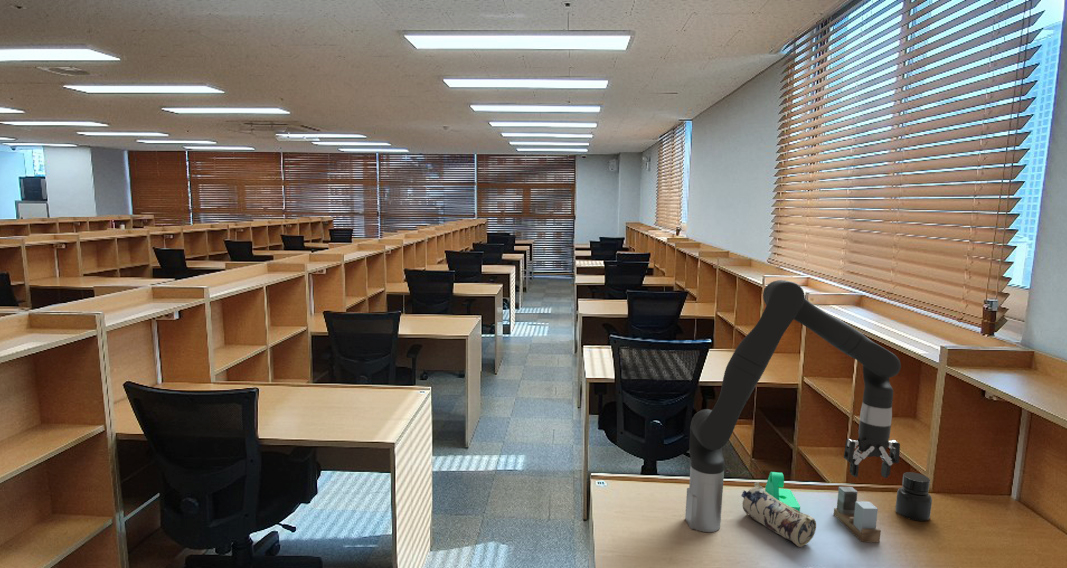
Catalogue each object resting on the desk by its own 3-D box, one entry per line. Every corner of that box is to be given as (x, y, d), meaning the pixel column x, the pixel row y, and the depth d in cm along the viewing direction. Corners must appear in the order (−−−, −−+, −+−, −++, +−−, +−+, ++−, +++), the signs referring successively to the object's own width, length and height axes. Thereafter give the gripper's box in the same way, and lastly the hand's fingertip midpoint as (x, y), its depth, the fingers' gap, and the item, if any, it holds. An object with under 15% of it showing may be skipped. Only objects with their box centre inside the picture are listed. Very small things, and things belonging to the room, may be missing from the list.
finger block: (861, 532, 167) (863, 508, 166) (853, 524, 171) (855, 501, 170) (875, 532, 167) (877, 508, 166) (866, 524, 171) (869, 501, 170)
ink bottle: (938, 520, 179) (942, 482, 177) (916, 524, 176) (920, 486, 174) (908, 504, 188) (912, 468, 186) (887, 508, 185) (891, 471, 184)
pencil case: (737, 515, 179) (740, 484, 178) (759, 509, 183) (761, 479, 182) (797, 553, 160) (800, 519, 158) (820, 547, 163) (823, 513, 162)
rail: (861, 541, 166) (864, 511, 165) (833, 514, 181) (836, 485, 180) (879, 542, 166) (882, 511, 165) (849, 514, 181) (852, 486, 180)
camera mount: (800, 516, 180) (803, 483, 178) (773, 513, 181) (776, 481, 180) (789, 497, 191) (792, 466, 190) (764, 494, 193) (767, 464, 191)
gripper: (857, 424, 161) (851, 481, 163) (909, 425, 162) (902, 483, 164) (842, 415, 169) (837, 469, 171) (892, 416, 169) (886, 471, 171)
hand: (869, 476), depth 167 cm, fingers open, 8 cm apart
